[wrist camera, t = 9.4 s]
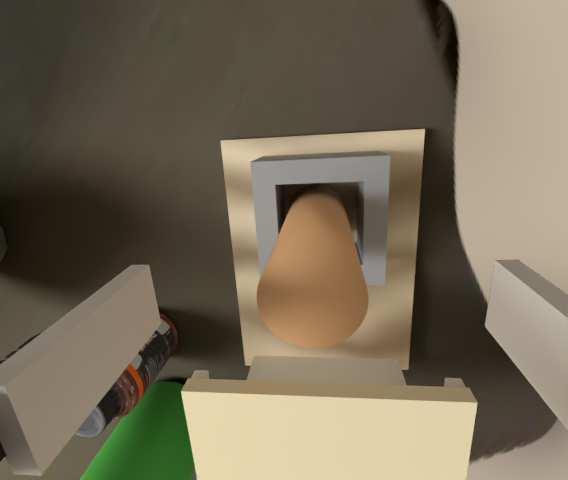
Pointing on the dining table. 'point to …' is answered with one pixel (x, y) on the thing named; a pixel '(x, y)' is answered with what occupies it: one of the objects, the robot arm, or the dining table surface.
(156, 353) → the supplement bottle
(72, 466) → the dining table surface
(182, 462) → the bottle
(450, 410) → the cream shelf stand
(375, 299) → the board
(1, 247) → the vase
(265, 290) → the peg
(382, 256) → the socket
